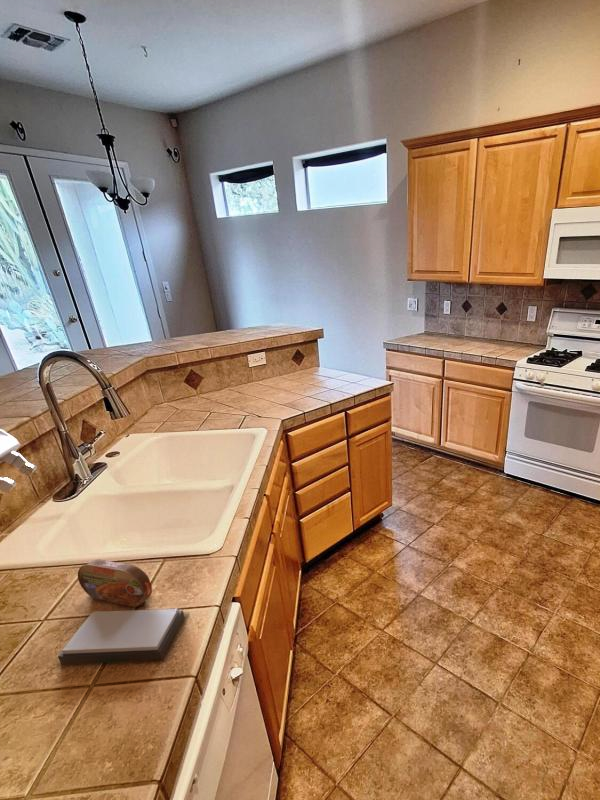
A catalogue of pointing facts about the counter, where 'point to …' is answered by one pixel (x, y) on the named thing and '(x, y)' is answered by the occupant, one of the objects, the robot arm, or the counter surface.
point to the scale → (123, 636)
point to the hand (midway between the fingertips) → (23, 479)
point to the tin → (115, 582)
